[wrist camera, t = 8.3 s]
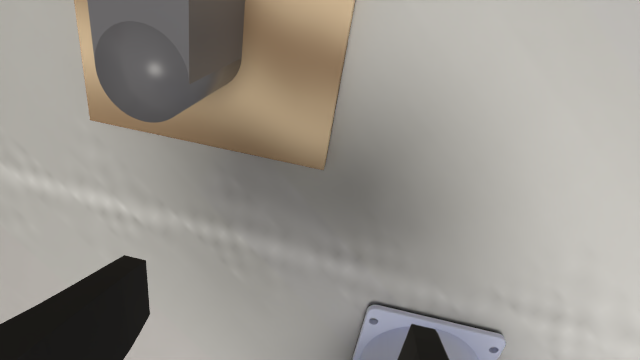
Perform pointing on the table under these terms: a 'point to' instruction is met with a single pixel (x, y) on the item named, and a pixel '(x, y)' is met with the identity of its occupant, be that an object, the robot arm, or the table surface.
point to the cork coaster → (257, 84)
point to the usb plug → (165, 52)
